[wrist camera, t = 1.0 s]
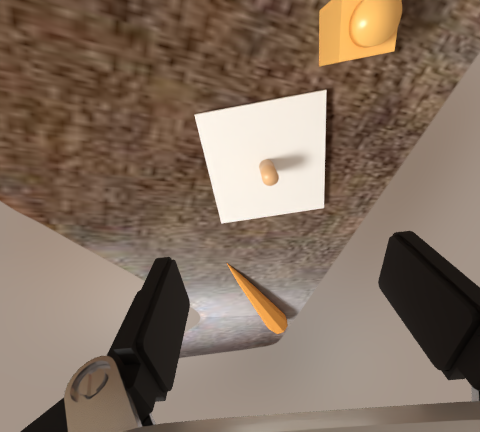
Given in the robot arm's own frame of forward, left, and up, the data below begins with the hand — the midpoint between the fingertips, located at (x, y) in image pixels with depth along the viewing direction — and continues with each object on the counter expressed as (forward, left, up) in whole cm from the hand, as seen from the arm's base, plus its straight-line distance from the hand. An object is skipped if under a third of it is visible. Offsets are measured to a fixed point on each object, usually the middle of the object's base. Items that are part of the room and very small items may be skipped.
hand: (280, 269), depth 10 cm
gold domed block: (-10, +12, -24) cm, 29 cm away
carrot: (+29, -3, -24) cm, 38 cm away
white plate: (+3, +2, -24) cm, 24 cm away
